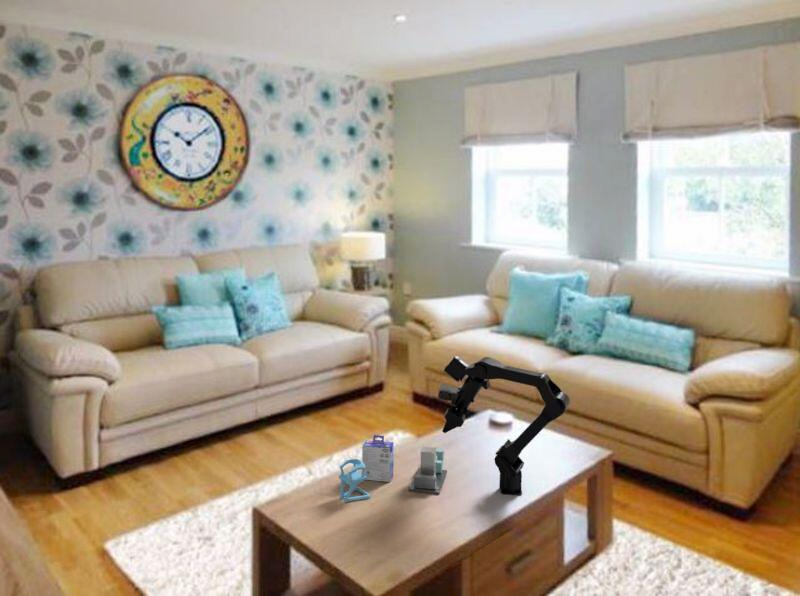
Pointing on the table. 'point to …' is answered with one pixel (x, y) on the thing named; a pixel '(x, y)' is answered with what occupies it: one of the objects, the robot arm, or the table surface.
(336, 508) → the table surface
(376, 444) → the ink cartridge box
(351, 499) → the chair
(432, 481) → the bench vise
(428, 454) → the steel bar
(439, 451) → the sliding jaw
